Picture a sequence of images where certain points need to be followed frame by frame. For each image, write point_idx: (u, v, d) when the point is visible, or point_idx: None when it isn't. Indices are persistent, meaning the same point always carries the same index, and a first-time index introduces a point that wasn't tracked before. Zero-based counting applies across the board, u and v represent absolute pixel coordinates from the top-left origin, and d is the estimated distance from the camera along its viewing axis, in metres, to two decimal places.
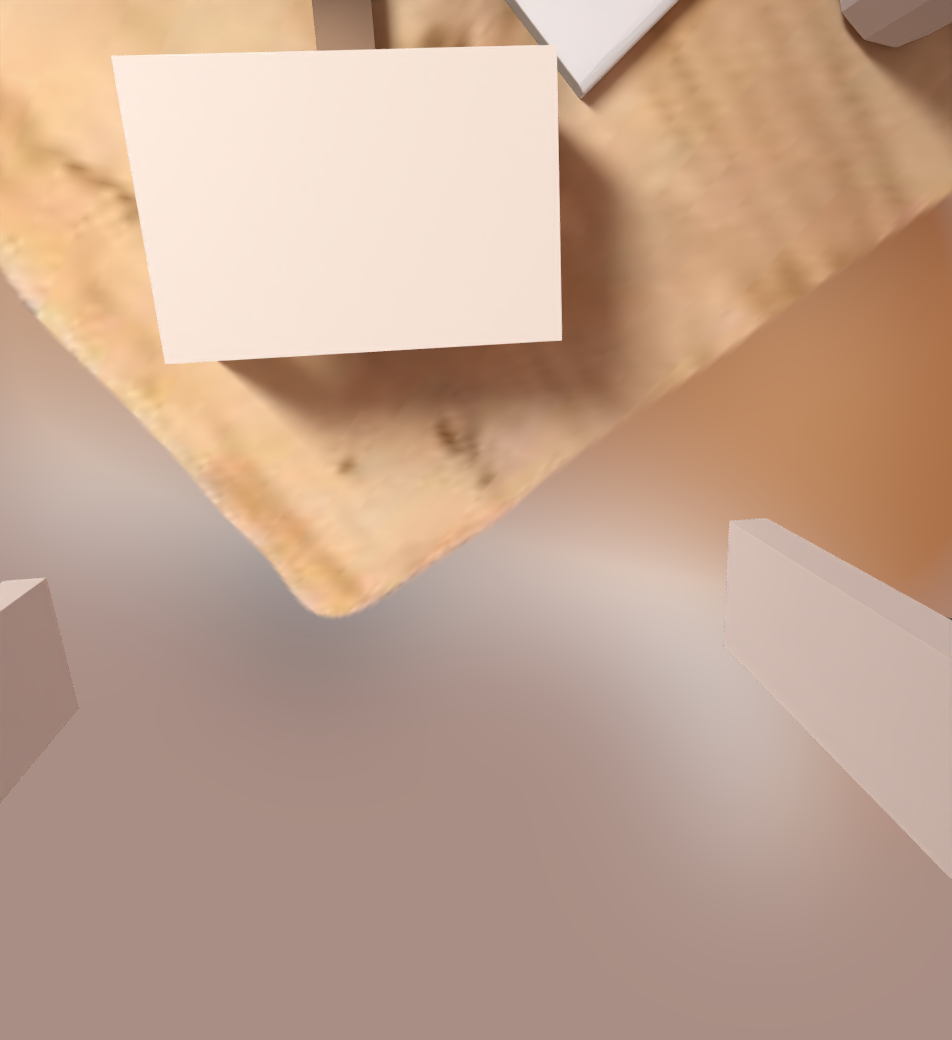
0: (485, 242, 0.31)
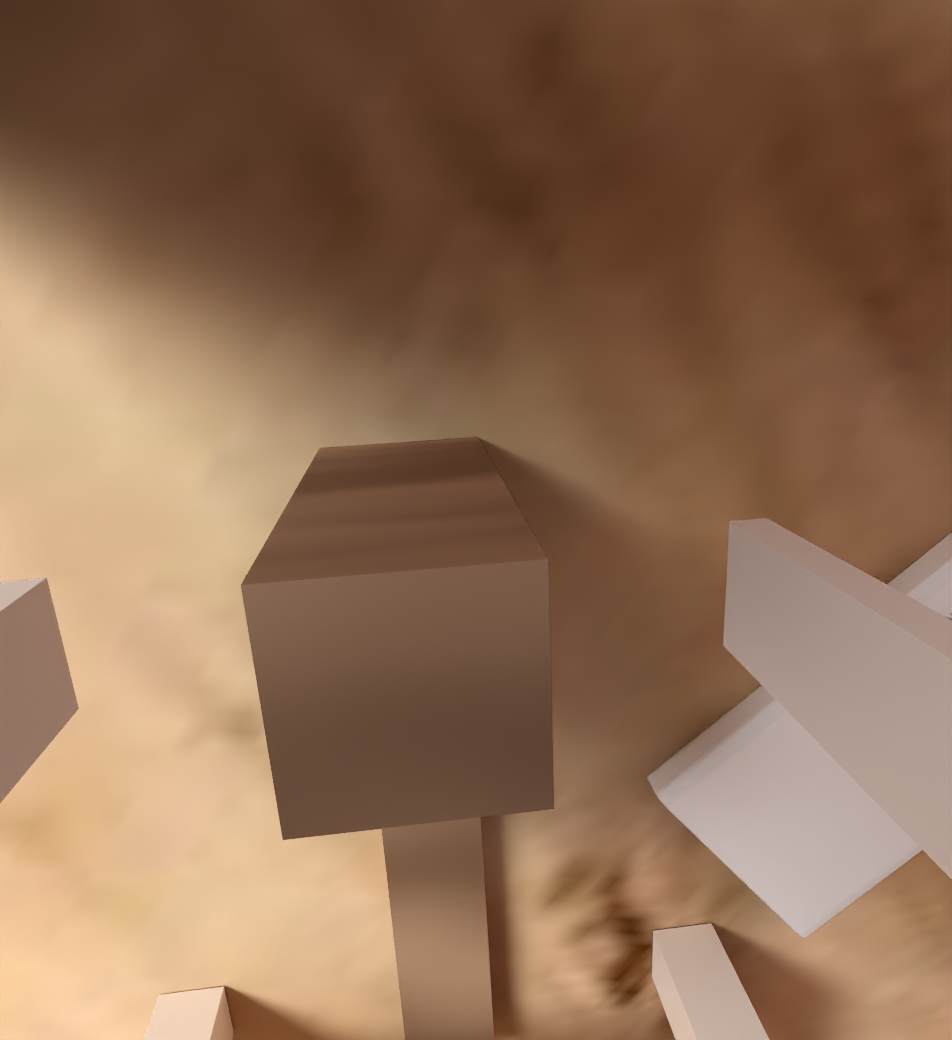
0: None
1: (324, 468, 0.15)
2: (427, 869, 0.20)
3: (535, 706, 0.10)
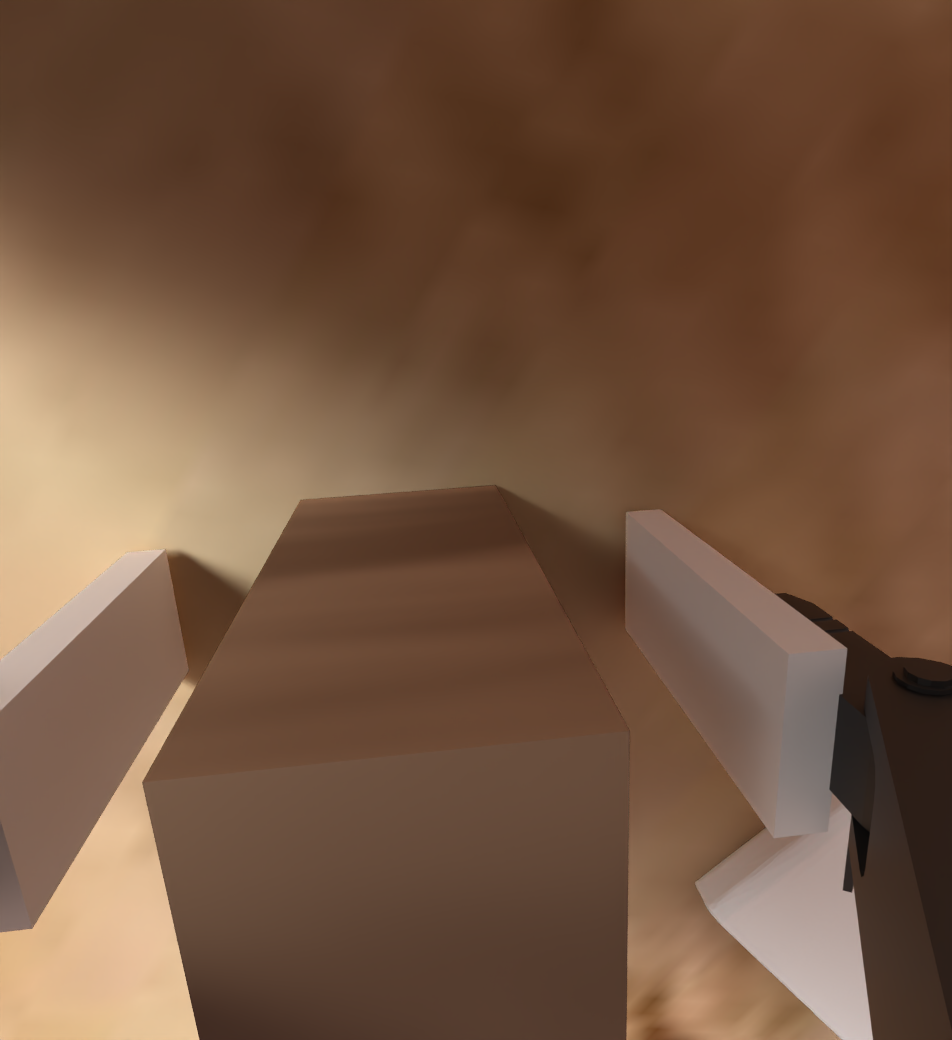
0: None
1: (302, 533, 0.12)
2: None
3: (602, 939, 0.07)
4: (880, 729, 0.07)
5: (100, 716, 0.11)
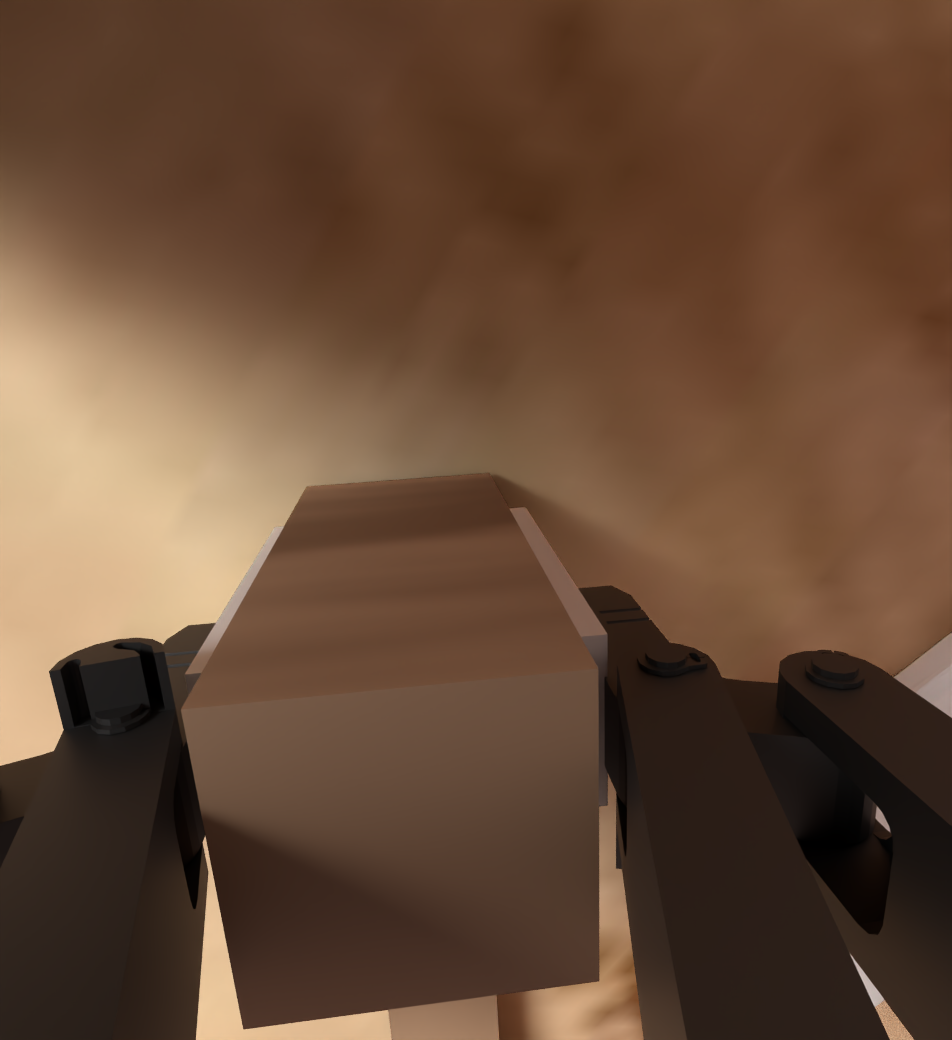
0: None
1: (310, 515, 0.13)
2: None
3: (577, 855, 0.07)
4: (627, 716, 0.08)
5: None
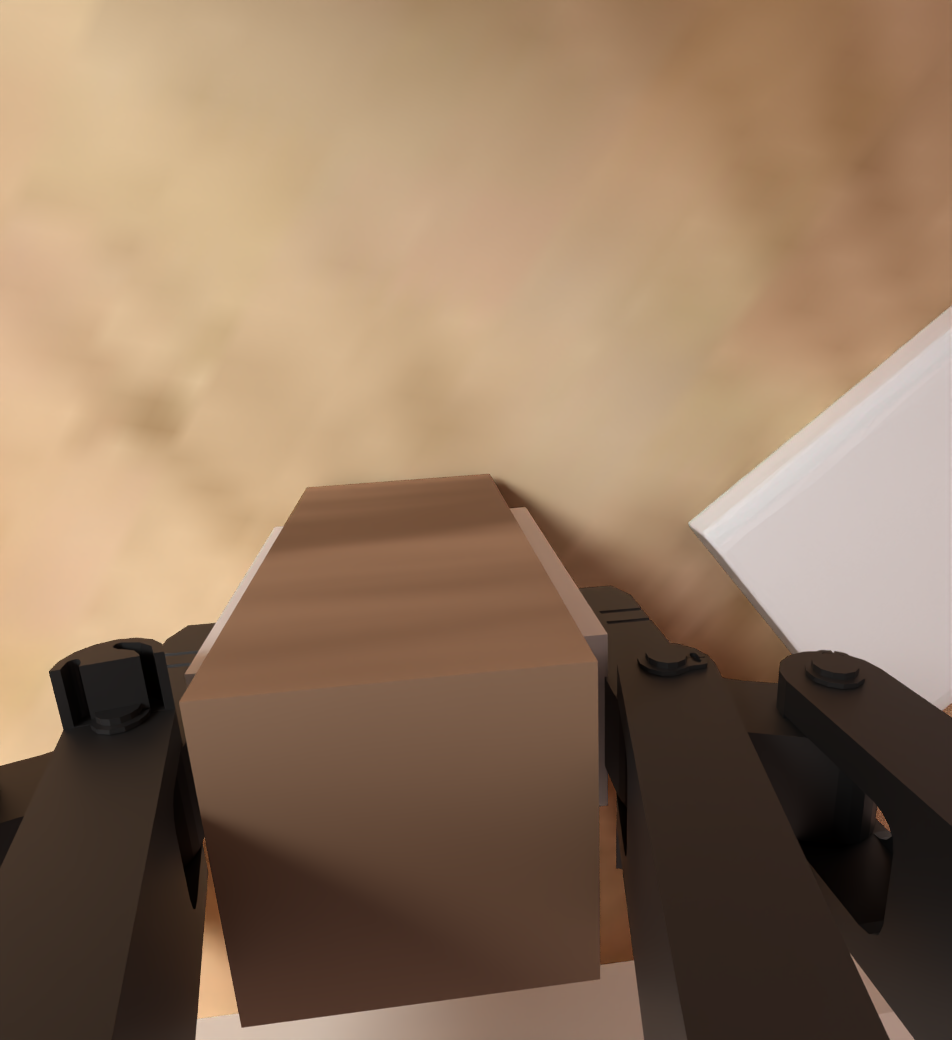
0: None
1: (309, 515, 0.13)
2: None
3: (577, 851, 0.07)
4: (626, 716, 0.08)
5: None
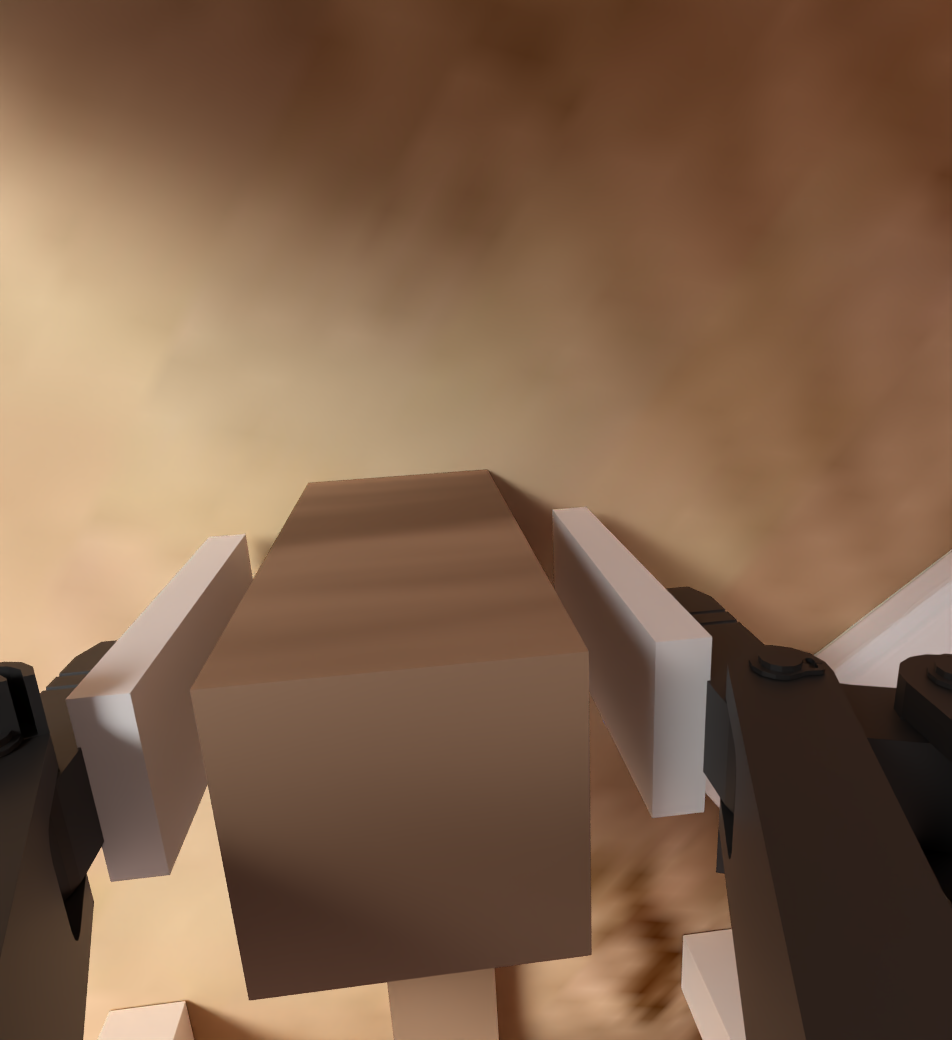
0: None
1: (311, 510, 0.13)
2: None
3: (569, 832, 0.08)
4: (738, 717, 0.08)
5: None
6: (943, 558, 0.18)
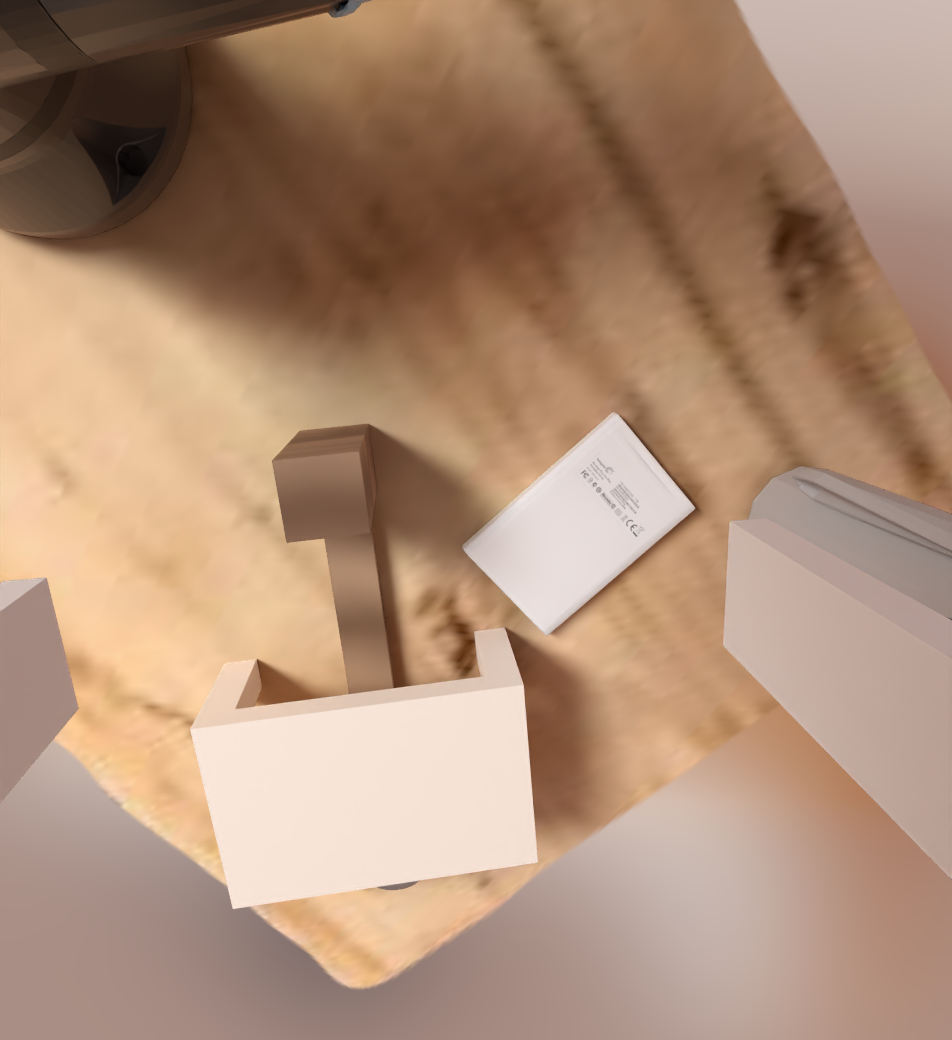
0: (475, 809, 0.40)
1: (300, 436, 0.39)
2: (357, 626, 0.43)
3: (360, 497, 0.33)
4: None
5: None
6: (562, 456, 0.43)
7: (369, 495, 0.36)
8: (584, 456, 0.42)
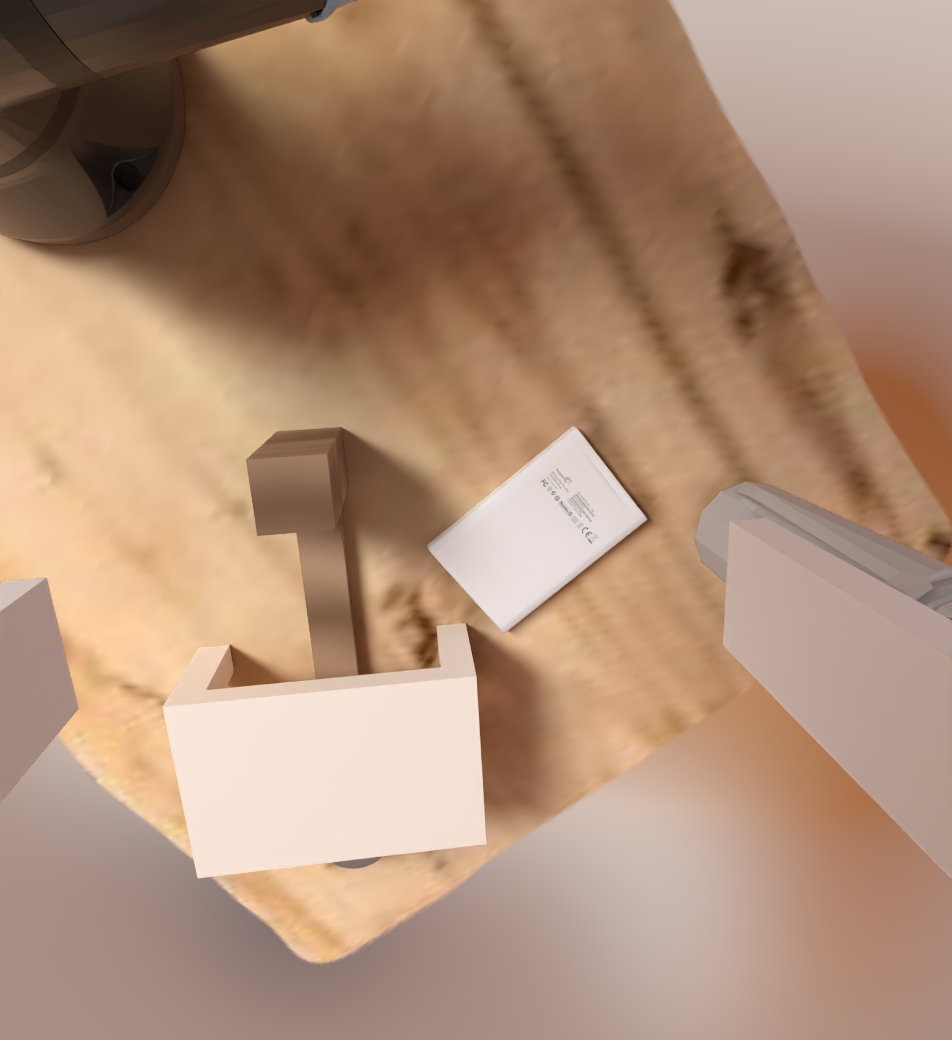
0: (428, 791, 0.43)
1: (276, 437, 0.41)
2: (326, 617, 0.46)
3: (327, 496, 0.36)
4: None
5: None
6: (524, 465, 0.46)
7: (337, 494, 0.39)
8: (544, 466, 0.45)
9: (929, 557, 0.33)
